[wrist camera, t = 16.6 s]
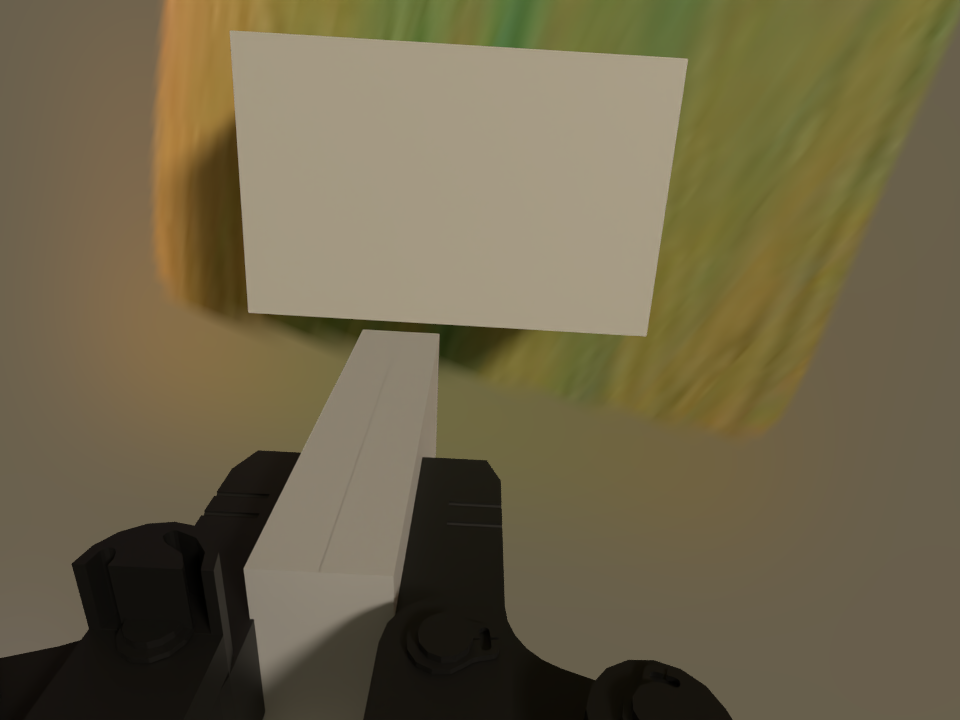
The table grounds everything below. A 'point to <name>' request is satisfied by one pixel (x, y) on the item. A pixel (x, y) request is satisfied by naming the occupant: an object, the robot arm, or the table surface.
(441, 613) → the robot arm
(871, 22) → the table surface
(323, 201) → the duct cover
